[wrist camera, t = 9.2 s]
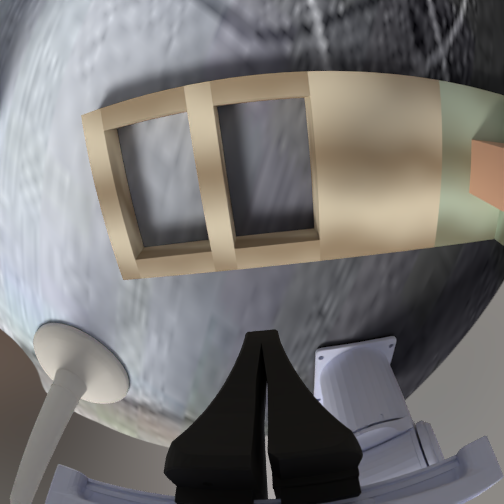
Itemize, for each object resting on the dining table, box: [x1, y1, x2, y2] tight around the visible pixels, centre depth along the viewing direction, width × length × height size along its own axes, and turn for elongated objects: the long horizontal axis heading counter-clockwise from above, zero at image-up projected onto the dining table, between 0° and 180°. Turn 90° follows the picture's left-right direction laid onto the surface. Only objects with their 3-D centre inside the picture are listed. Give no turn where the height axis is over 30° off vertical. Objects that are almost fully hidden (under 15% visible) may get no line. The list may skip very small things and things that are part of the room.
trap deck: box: [81, 71, 504, 280], centre depth 16 cm, size 12×31×5 cm, turn 97°
